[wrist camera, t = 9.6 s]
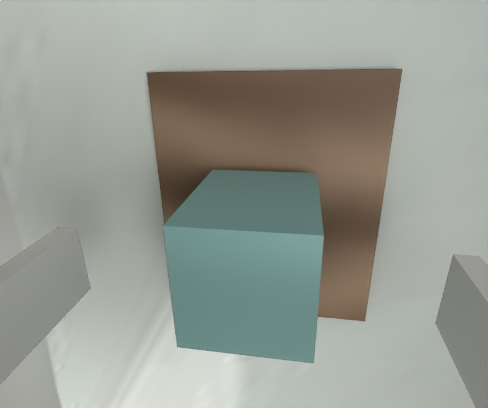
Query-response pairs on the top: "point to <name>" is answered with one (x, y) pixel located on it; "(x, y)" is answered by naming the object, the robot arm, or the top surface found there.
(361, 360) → the top surface
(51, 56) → the top surface
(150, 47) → the top surface
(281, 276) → the teal rectangular block
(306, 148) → the brown square panel
